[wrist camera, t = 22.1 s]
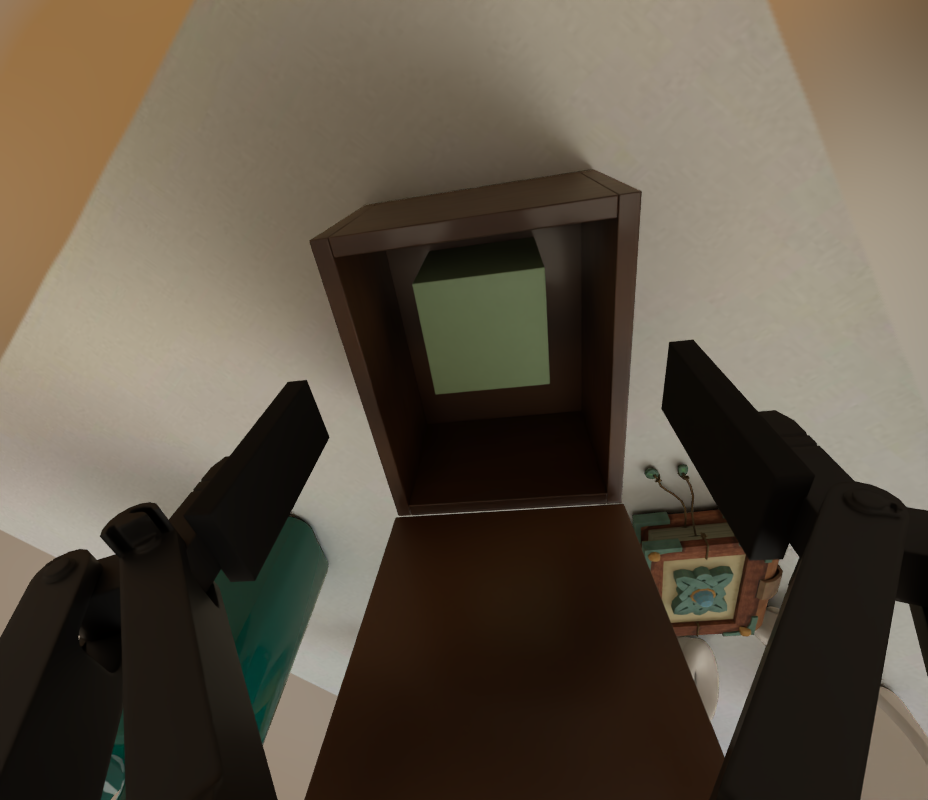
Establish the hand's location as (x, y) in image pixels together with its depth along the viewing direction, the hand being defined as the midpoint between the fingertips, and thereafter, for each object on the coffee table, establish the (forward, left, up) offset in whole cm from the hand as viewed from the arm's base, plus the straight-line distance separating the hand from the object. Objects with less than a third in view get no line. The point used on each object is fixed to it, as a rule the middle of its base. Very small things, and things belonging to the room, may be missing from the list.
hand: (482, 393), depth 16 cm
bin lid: (+7, +4, +5) cm, 10 cm away
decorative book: (+14, +24, -13) cm, 31 cm away
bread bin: (+2, +1, -13) cm, 13 cm away
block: (0, 0, -12) cm, 12 cm away
